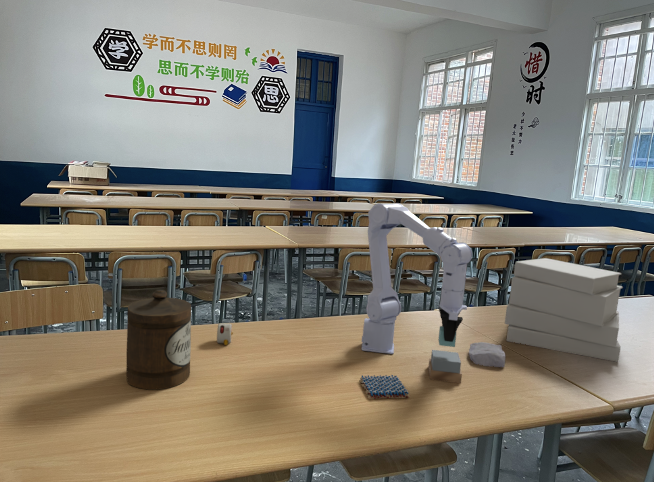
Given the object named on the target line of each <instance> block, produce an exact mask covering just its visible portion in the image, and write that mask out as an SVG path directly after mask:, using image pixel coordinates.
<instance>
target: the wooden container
mask: <svg viewBox="0 0 654 482" xmlns="http://www.w3.org/2000/svg"><path fill="white" fill-rule="evenodd" d="M151 294H152V297H150V298H145V299H144V298H143V299H139V300H135V301H133V302H132V303H130V304H129V305H128V306H127V311H126V312H127V314H126V315H127V316H126V317H127V318H126V319H127V322H126V324H127V327H126V329H127V331H126V353H125V354H126V361H125V362H126V376H125V377H126V382H127V383H128V384H129V385H130V386H132V387H134V388H138V389H142V390H149V391H151V390H152V391H153V390H163V389H164V390H165V389H169V388H173V387H175V386H179V385H181V384H183V383H184V382H186V381H188V378H190V375H191V374H190V373H191V350H192V349H191V347H192V343H191V340H192V338H191V336H192V335H191V334H192V333H191V332H192V330H191V329H192V328H191V327H192V324H191V323H192V322H191V319H192V304H191V302H189V301H187V300H185V299H181V298H176V297H167V296H168V293H167V291H166V290H165V289H156V290H155V291H153V293H151Z"/></svg>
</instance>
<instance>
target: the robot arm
mask: <svg viewBox="0 0 654 482" xmlns="http://www.w3.org/2000/svg"><path fill="white" fill-rule="evenodd" d="M367 213H368V215H367V216H368V222H369V223H368V228H367V237H368V240H367V241H368V247H369V249H368V250H369V258H370V270H371V279H372V281H371V282H372V287H373V288H372V290H371V291H370V293H369V294H368V295H367V304H366V315H367V317H368V318H367V317H366V318H364V321H363V327H362V328H363V329H362V336H361V351H364V352H373V353H380V354H381V353H382V354H388V355H389V354H390V355H393V354H394V353H395V344H394V337H395V323H396V320H397V317H398V316H400V314H401V312H402V305H401V302H400V299H399V297H398V292H397V291H396V290H395V289H393V288H392V281H391V280H392V277H391V269H390V267H391V266H390V261H389V260H390V256H389V248H388V238H387V237H388V234H390V232H391V231H392V230H394V229H395V228H396V227H398V226H399V225H402V226H404V227H405V228H407V229H408V230H410V231H411V232H413V233H415V234H416V235H418V236H419V237H420V238H422V243H423V245H424V246H426V247H427V248H429V249H430V250H431V251H433V252H434V253H435V254H436V255H438V256H439V257H440V260H441V263H442V265H443V267H442V270H443V273H442V274H443V275H442V284H441V291H440V292H441V293H440V302H439V308H438V312H439V317H440V319H441V326H443V329H444V340H445V341H449V342H453V340H454V337H455V334H456V335H457V330H458V328H459V327H460V325H461V323H462V322H463V318H464V317H462V316H459V315H460V314H461V312H462V311H465V310H467V309H468V306H467V305H465V304H463V303H464V296H465V287H466V276H467V267H468V263H470V262H471V261H472V258H473V251H472V248H471V247H470V246H469V245H468V244H467V243H466V242H464V241H462V242H458V241H457V238H455V237H451V236H450V235H448V234H447V233H446V232H444V228H443V227H436V226H433V227H429V226H428V225H427V224H426V223H425V222H424V221H422V220H421V219H420V218H418V217H417V216H416V215H415V214H413V212H411V211H410V210H409V208H408V207H407V206H404V205H403V204H402V203H399V202H396V203H381V202H380V203H375V204H374V205H373V206H372V207H371V208H370V209H369V210H368V212H367Z"/></svg>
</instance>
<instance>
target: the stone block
mask: <svg viewBox="0 0 654 482" xmlns="http://www.w3.org/2000/svg"><path fill="white" fill-rule="evenodd" d="M468 354H469V359H470V361H473V362H472V363H473V364H475V365H478V364H479V365H478V366H482V365H483V366H484V367H493V366H494V367H495V368H501V367H502V369H503V367H504V368H505V365H506V353H505V351H504V350H503V349H502V345H501V344H494V343H490V342H485V341H484V342H483V341H480V342H473V343H470V345H469V349H468Z"/></svg>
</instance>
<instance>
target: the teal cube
mask: <svg viewBox="0 0 654 482" xmlns="http://www.w3.org/2000/svg"><path fill="white" fill-rule="evenodd" d="M438 331H439V332H438V340H437V341H438V345H439V346H442V347H451V348H455V347H456V341H457V333H456V334H455V337H454V340H453V342H449V341H445V340H444V329H443V326H442V325H440V326H439V330H438Z"/></svg>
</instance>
